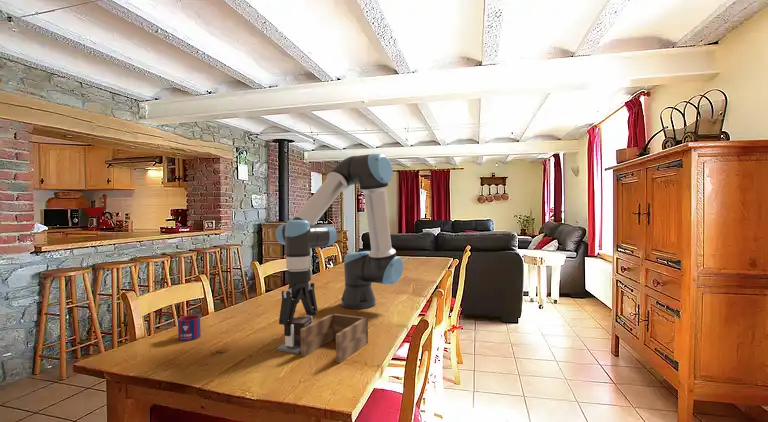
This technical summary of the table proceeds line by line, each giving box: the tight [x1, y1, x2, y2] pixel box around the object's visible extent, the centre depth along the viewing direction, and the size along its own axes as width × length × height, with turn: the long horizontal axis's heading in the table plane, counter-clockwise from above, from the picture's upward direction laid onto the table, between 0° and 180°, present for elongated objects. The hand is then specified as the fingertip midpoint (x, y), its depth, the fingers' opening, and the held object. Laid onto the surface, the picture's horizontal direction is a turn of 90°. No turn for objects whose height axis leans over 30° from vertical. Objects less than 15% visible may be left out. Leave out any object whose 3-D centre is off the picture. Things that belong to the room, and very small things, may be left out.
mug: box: [177, 314, 202, 342], centre depth 131 cm, size 7×10×7 cm
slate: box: [276, 343, 301, 355], centre depth 121 cm, size 12×8×1 cm, turn 155°
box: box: [292, 316, 312, 346], centre depth 121 cm, size 6×6×7 cm
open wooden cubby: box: [300, 313, 369, 364], centre depth 117 cm, size 17×13×8 cm
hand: (299, 340), depth 121 cm, fingers open, 9 cm apart
